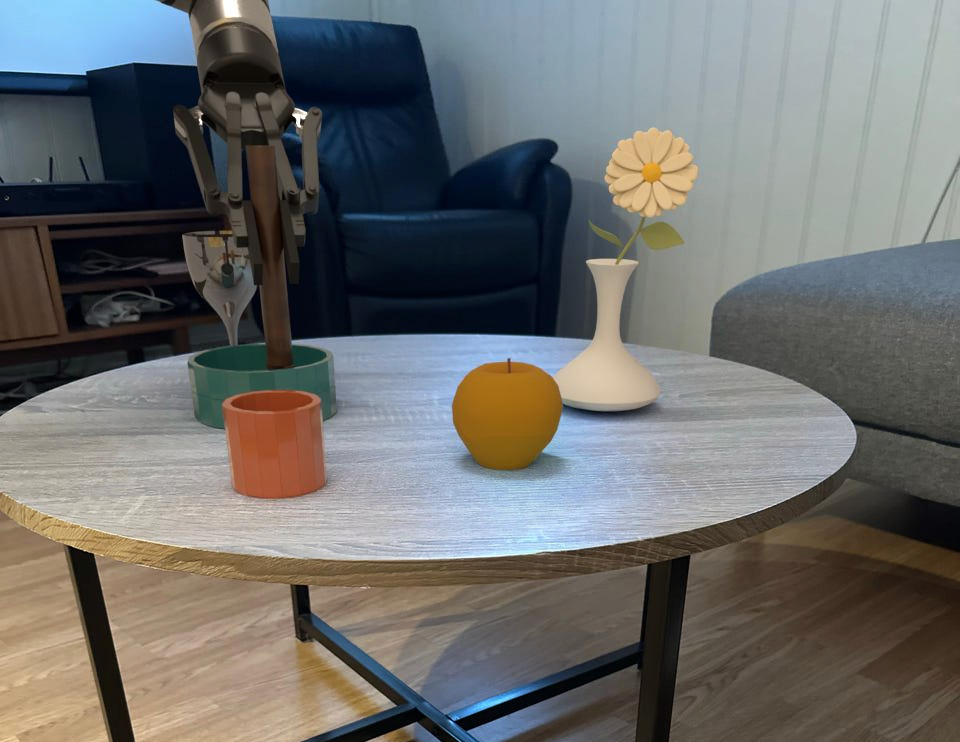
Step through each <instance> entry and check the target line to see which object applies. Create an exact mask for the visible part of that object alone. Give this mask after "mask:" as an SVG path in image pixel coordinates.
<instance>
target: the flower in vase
mask: <svg viewBox="0 0 960 742" xmlns="http://www.w3.org/2000/svg"><path fill="white" fill-rule="evenodd" d="M690 149H691V148H690V145H689V143H688V142H687V143H686V142H685V139H684V138H683V137H680V136H679V137H675V136H674V135H673V132H672V131H671V130H669V129H666V130H663V131H660V130H659V129H658V128H657V127H650V128H649V129H648V131H644V132H643V131H642V130H636V131H635V132H634V133H633V138H631V137H629V138H627V139H621V140H619V141H618V143H617V147H616V148H615V150H614V151H613V152H612V154H611V159H610V160H609V162H608V165H607V166H606V169H605V171H606V174H605V175H604V182H605V183H606V184H608V185H609V186H608V191H609V193H610V194H611V195H614V197H613V198H612V201H613V204H614V205H615V206H620V207H621V208H622V209H626V210H627V212H629V213H631V214H635V213H636V212H638V214H639V216H640V217H641V220H640V223H639V225H638V227H637V229H636V231H635V232H634V234H633V235H632V237H631V238H630V239H629V241H628V242H627V243H626V245H625V246H624V244H623V243H622V241H621V240H620V239H619V238H618V237H617V236H616V235H615V234H613V233H612V232H609V231H606V230H604V229H601V228H599V227H598V226H596V225H594V223H592V222H591V220H590V219H588V220H587V221H588V225H589V226H590V228H591V229H592V231H593V232H594V233H595V234H596V235H598V236H599V237H601V238H602V239H604V240H606V241H608V242H609V243H612V244H614V245H617V246H619V247H621V248H623V249H622V250H621V252H620V253H619V255H618V257H617V258H593V259H588V260H585V263H586V265H587V267H588V268H589V270H590V272H591V275H592V277H593V281H594V284H595V291H596V301H597V305H596V306H597V307H596V308H597V309H596V310H597V311H596V312H597V313H596V314H597V315H596V318H597V319H596V327H595V331H594V336H593V338H592V340H591V343H589V344H588V345H587V347H586V348H585V349H584V350H582V351H581V352H580V353H579V354H578V355H576V356H575V357H574V358H573V359H572V360H570V361H569V362H568V363H566V364H564V366H563V367H562V368H560V369H559V370H558V371H557V372H556V373H555V374H554V375H553V376H552V378H553V379H554V380H555V382H556V383H557V385H558V386H559V390H560V394H561V398H562V405H565V406H568V407H570V408H576V409H581V410H585V411H587V410H588V411H595V412H621V411H631V410H636V409H640V408H643V407H646V406H648V405H651V404H653V403H654V402H655V401H657V399H658V398H659V396H660V395H661V388H660V385H659V382H658V380H656V378H655V377H654V375H653V374H652V373H651V372H650V371H649V370H648V369H647V368H646V367H645V366H644V365H643V364H642V363H641V362H640V361H639V360H638V359H636V357H634V356H633V355H632V354H631V352H630V351H628V349H627V348H626V346H625V345H624V344H623V341H622V338H621V331H620V327H621V325H620V324H621V323H620V322H621V311H622V306H623V305H622V304H623V298H624V295H625V291H626V287H627V284H628V282H629V279H630V277H631V275H632V274H633V272H634V271H635V269H636V268H637V267H638V265H639V264H640V262H639V261H637V260H634V259H633V260H632V259H626V258H625V259H624V255H625V254H626V253H627V251H628V250H629V249H630V247H631V245H633V243H634V241H635V240H636V239H637V237H638V235H639V234H640V238H641V239H642V241H644V243H645V244H646V246H647V247H648V248H649V249H651V250H653V251H659V250H666V249H669V248H673V247H678V246H681V245H683V244H685V241H684V239H683V238H682V236H681V234H680V233H679V232H678V231H677V230H676V228H674V227H673V226H672V225H670V224H668V222H665V221H656V222H653V223H651V224H648V225H646V226H644V224H645V221H646V217H647V218H654V217H659V216H661V215H662V214H663V211H669V210H670V211H674V210H676V209H678V207H682V206H683V205H685V204H686V201H687V200H688V198H689V194H688V192H690V191H691V190H692V189H694V185H695V183H694V181H696V180H697V178H698V173H699V167H698V166H697V165H695V164H692V163H693V162H694V160H695V158H694V155H693V154H692V153H691V152H689V151H690ZM643 226H644V227H643Z"/></svg>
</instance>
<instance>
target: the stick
mask: <svg viewBox="0 0 960 742" xmlns="http://www.w3.org/2000/svg"><path fill="white" fill-rule="evenodd" d="M245 147H246V149H245V155H246V156H245V157H246V165H247V167H246V168H247V176H248V185H249V197H250V201H252V205H253V211H254V216H255V222H256V228H257V233H258V239H259V245H260V251H261V256H262V262H263V285H258V288H259V295H260V305H261V316H262V317H261V318H262V325H263V335H264V343H265V346H266V356H267V362H266V368H267V370H276V369H286V368H295V366H294V365H292V364H293V352H292V344H293V343H292V331H291V320H290V319H291V318H290V308H289V296H288V295H289V294H288V285H287V274H286V260H285V254H284V249H283V239H282V228H281V216H280V205H279V200H280V197H279V192H278V181H277V169H276V158H275V146H245Z"/></svg>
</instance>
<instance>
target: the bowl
mask: <svg viewBox="0 0 960 742" xmlns="http://www.w3.org/2000/svg"><path fill="white" fill-rule="evenodd" d="M292 352H293V364H292V365H294V366H295V368H286V369H276V370H267V368H266V362H267V356H266V346H265V342H264V343H263V342H261V343H245V344H237V345H232V346H230V345H227V346H220V347H214V348H209V349H206V350H202V351H198V352H195V353H194V354H192V355H190V356H189V357H188V358H187V369H188V377H189V383H190V391H191V398H192V405H193V412H194V418H195V420H197V421H198V422H199V423H200V424H203V425H206V426H209V427H212V428H215V429H224V430H225V425H224V417H223V409H222V403H223V402H224V401H225V399H227V398H230V397H232V396H235V395H238V394H243V393H248V392H254V391H265V390H294V391H304V392H308V393H312V394H315V395H317V396H318V397H320V398H321V404H322V417H323V422H324V421H326V420H329V419H330V418H332V417H333V416H334V415H335V414H336V413H337V412H338V406H337V405H338V404H337V391H336V376H335V363H334V362H335V361H334V355H333V352H332V351H330V350H328V349H326V348H323V347H319V346H314V345H309V344H301V343H300V344H299V343H292Z"/></svg>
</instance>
